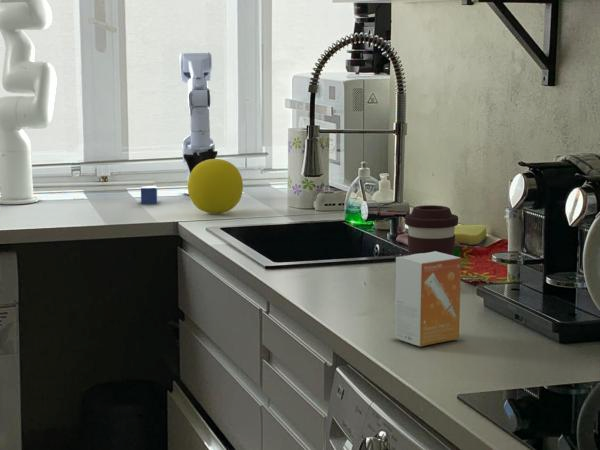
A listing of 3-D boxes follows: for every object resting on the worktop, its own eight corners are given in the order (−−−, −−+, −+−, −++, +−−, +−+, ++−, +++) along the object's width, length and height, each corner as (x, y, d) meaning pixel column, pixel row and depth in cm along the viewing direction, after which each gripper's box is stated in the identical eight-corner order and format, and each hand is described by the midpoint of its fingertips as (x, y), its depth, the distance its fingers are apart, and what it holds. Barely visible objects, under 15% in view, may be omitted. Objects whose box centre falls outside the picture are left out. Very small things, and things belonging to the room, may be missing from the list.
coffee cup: (400, 280, 202) (400, 204, 200) (450, 279, 203) (451, 203, 201) (409, 292, 193) (410, 212, 190) (462, 291, 193) (463, 211, 191)
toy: (233, 207, 298) (232, 155, 296) (250, 215, 284) (249, 160, 281) (182, 210, 293) (181, 157, 290) (196, 219, 279) (195, 163, 276)
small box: (420, 347, 157) (421, 263, 155) (394, 338, 162) (394, 256, 160) (460, 339, 162) (462, 256, 159) (433, 330, 167) (434, 250, 165)
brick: (156, 203, 309) (156, 187, 308) (141, 204, 308) (140, 188, 307) (157, 201, 313) (156, 185, 313) (142, 201, 313) (141, 186, 312)
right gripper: (199, 128, 315) (200, 173, 317) (176, 132, 302) (177, 179, 304) (220, 129, 312) (221, 174, 315) (197, 132, 299) (198, 180, 301)
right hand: (201, 176), depth 309 cm, fingers open, 7 cm apart
